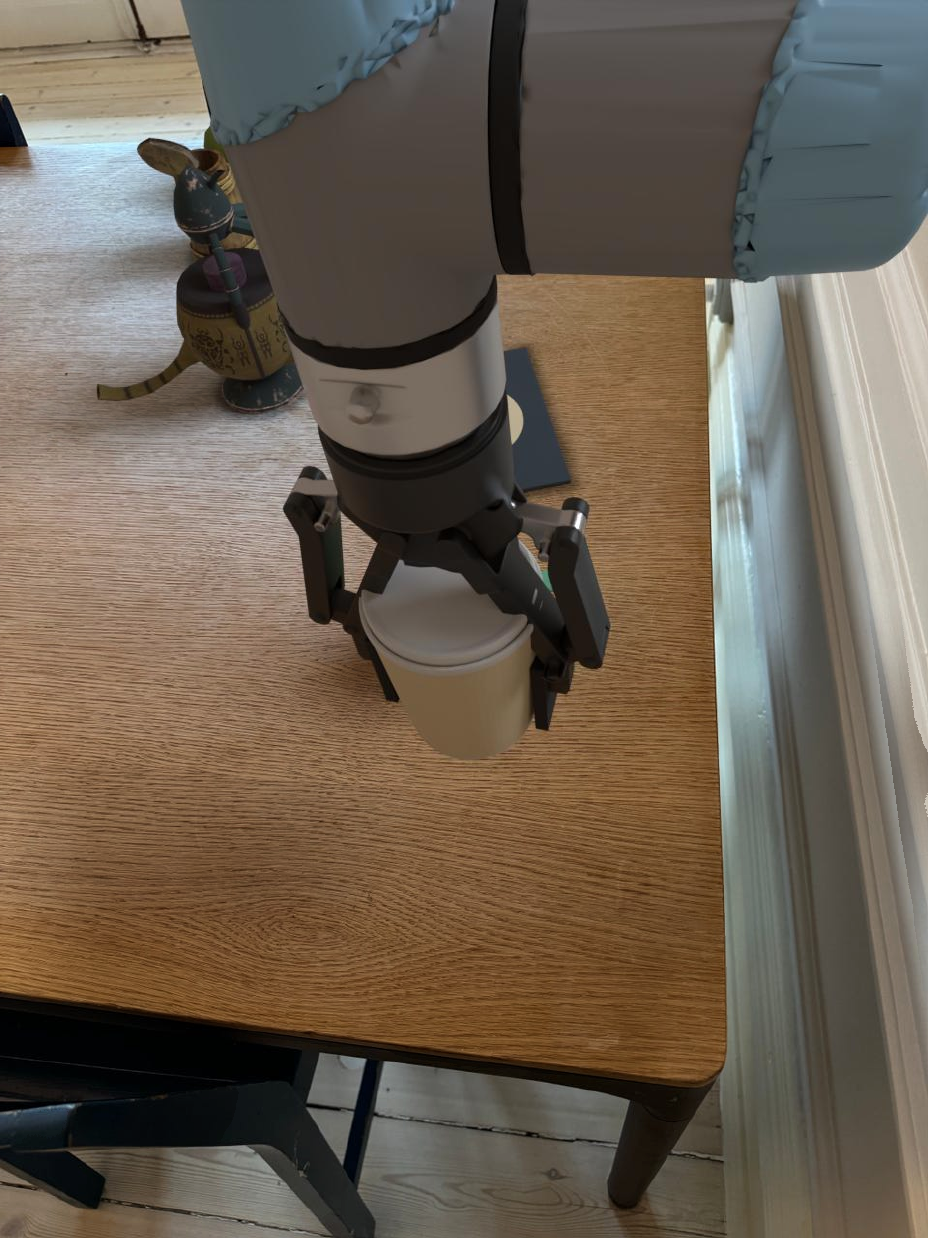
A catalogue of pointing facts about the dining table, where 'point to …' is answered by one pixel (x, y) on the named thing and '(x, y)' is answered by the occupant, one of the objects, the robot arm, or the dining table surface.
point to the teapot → (224, 308)
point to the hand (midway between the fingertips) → (471, 696)
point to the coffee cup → (454, 659)
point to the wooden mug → (208, 160)
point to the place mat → (531, 427)
